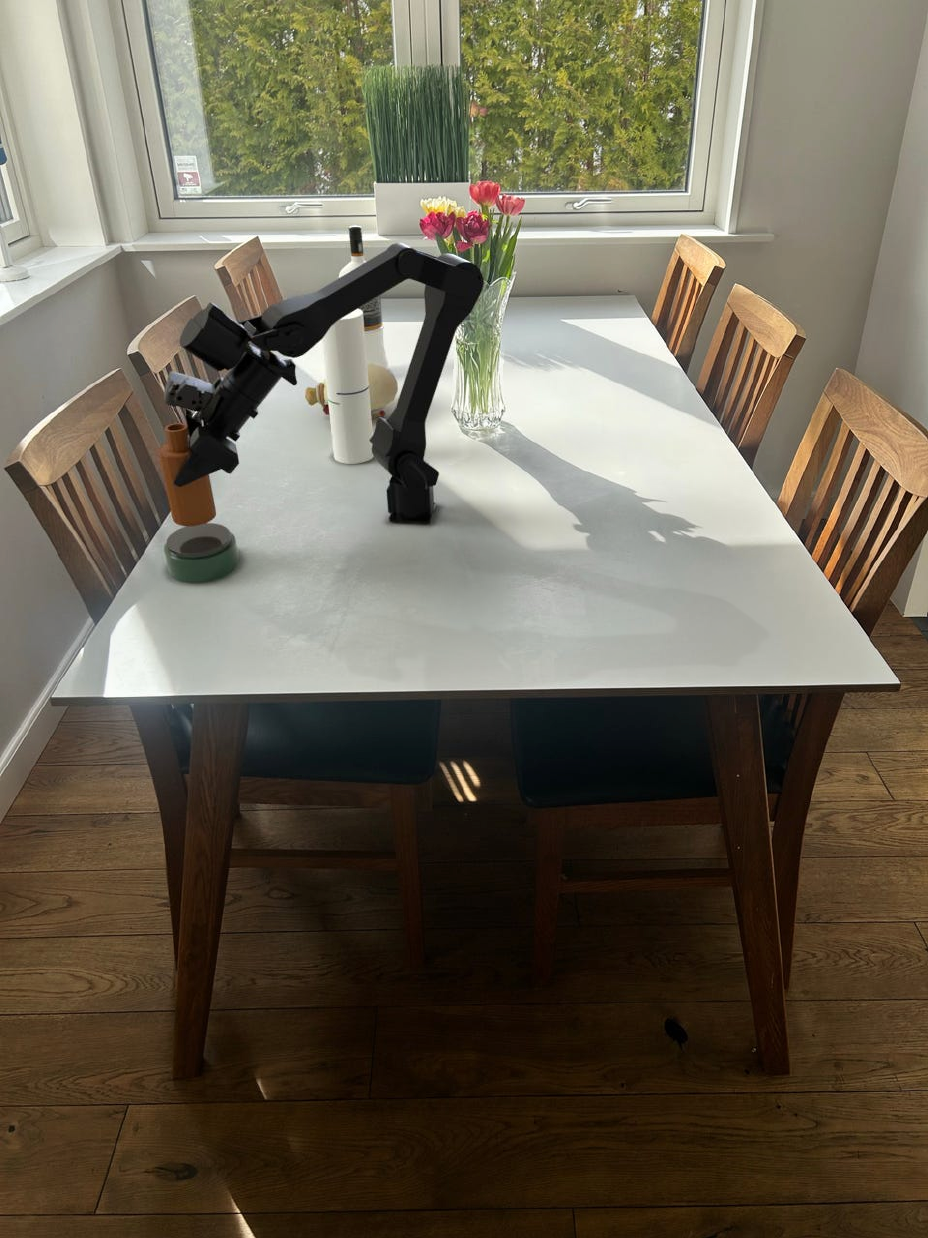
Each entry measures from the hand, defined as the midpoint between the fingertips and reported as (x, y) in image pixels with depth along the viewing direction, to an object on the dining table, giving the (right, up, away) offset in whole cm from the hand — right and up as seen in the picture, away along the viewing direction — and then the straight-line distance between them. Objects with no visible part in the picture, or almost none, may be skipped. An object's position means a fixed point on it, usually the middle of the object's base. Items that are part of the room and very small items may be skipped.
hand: (175, 475), depth 131 cm
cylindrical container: (+20, +9, +37) cm, 43 cm away
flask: (+18, +20, +54) cm, 60 cm away
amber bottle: (+2, -5, +4) cm, 7 cm away
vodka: (+19, +33, +73) cm, 82 cm away
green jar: (+2, -12, +6) cm, 14 cm away
